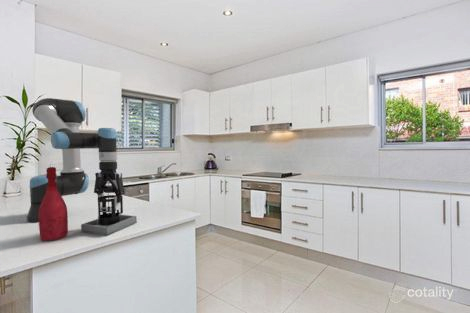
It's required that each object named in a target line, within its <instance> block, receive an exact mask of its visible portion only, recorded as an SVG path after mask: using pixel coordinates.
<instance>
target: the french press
mask: <svg viewBox="0 0 470 313" xmlns="http://www.w3.org/2000/svg"><path fill="white" fill-rule="evenodd" d="M104 175H107V174H104ZM109 183H110V182H109V181H108V182H107V184H106V186H102V187H97V189H98V190H99V191H103V192H104V194H107V195H104V196H101V197H98V196H97V207H98V208H97V212H98V213H97V219H98V225H113V224H116V223H118V222H120V217H119V214H121V215H123V213H124V206H123V204H124V203H123V199H124V198H123V195H121V202H120V204H121V209H119V210H115V199H114V196H115V195H116V194H114V195H113V194H110V193H115V192H114V188H113V187H112V185H111V184H109ZM100 202H102V207H103V208H101V209H100ZM110 202H111V205H110ZM107 203H108V204H107ZM101 213H102V214H101Z"/></svg>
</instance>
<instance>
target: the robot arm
mask: <svg viewBox="0 0 470 313" xmlns="http://www.w3.org/2000/svg"><path fill="white" fill-rule="evenodd" d="M31 113H32V115H33V116H34V118H35V119H36V120H37V121H39V122H41V123H42V124H43V126H44V127H45V128H46V129H47V131H48V132H49V134H50V144H51V147H52V149H53V148H54V149H56V150H61V152H62V167H63V168H62V170H61V171H60V172H59V175H58V174H57V173H56V176H57V177H56V178H55V179H56V186H57V188H58V191H59V193H60V195H61V197H65V196H73V195H78V194H82V193H85V192H86V191H87V190H88V187H89V181H90V179H89V175H88V174H87V173H86V172H85V170H84V169H83V168H82V165H81V162H82V161H81V150H82V149H88V150H89V149H97V150H98V160H99V163H98V167H99V168H98V169H99V170H100V172H95V174H94V175H95V180H94V189H93V193H94V194H96V195H97V198H98V197H101V196H105V192H103V191H99V190H98V189H97V187H102V186H106V185H107V184H108V182H109V183H110V185H112V187H113V188H114V192H113V193H114V195H115V196H114V199H115V210H116V211H117V210H119V211H120V209H121V204H120V202H121V196H124V195H125V193H126V190H125V186H124V183H123V182H124V181H123V174H122V172H121V173H120V172H117V170H118V162H117V160H118V153H117V149H118V148H117V131H116V129H115V128H113V127H100V128H98V129H97V132H80V127H81V126H82V125H83V122H85V120H86V116H87V115H86V109H85V107H84V105H83V103H81V102H79V101H76V100H69V99H61V98H52V97H51V98H49V97H47V98H42V99H40V100H38V101H36V103H34V104H33V106H32V112H31ZM104 174H107V175H104ZM46 175H47V173H46V174H45V173H44V174H40V175H37V176H36V175H35V176H33V177H31V178H30V179H29V195H30V196H29V197H30V208H29V209H28V210H29V211H28V213H27V216H26V220H27V222H29V223H39V209H40V205H41V203H42V200H43V198H44V196H45V194H46V191H47V187H48V179H47V178H46ZM101 208H103V207H102V202H100V209H101Z"/></svg>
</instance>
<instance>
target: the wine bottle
mask: <svg viewBox="0 0 470 313" xmlns="http://www.w3.org/2000/svg"><path fill="white" fill-rule="evenodd" d="M46 174H47V175H46V178H47V179H48V187H47V191H46V194H45V196H44V198H43V200H42V203H41V205H40V209H39V222H38V229H39V237H40V239H41V241H45V242H50V241H57V240H60V239H62V238H65V237H66V236H68V233H69V230H68V229H69V221H68V220H69V216H68V214H69V213H68V208H67V207H68V206H67V204H66V202H65V200H64V198H63V196H61V195H60V193H59V191H58V188H57V186H56V179H55V178H56V177H57V176H58V175H57V176H56V174H57V167H54V166H49V167H47V168H46Z"/></svg>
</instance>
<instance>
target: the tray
mask: <svg viewBox="0 0 470 313" xmlns="http://www.w3.org/2000/svg"><path fill="white" fill-rule="evenodd" d="M119 217H120V222H118V223H116V224H113V225H98V218H96V219H93V220H91V221H87V222H85V223H81V225H80V226H81V227H80V229H81V233H84V234H92V235H99V236H104V237H105V236H106V237H107V236H110V235H113V234H115V233H117V232H119V231H122V230H124V229H126V228H128V227H130V226H133V225H136V224H137V222H138V221H137V220H138V218H137V216H136V215H128V214H119ZM135 223H136V224H135Z"/></svg>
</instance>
